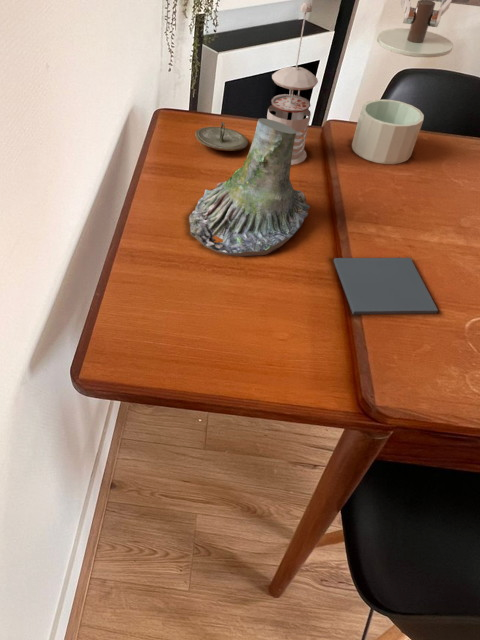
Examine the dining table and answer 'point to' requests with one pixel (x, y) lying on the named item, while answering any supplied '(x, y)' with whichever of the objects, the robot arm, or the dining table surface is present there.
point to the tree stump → (254, 199)
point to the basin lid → (416, 36)
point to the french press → (294, 99)
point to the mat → (384, 286)
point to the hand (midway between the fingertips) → (420, 23)
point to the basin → (387, 131)
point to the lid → (221, 138)
